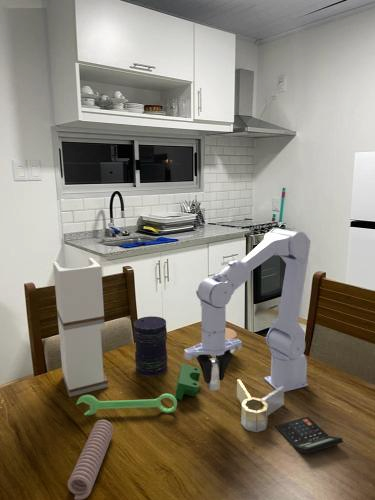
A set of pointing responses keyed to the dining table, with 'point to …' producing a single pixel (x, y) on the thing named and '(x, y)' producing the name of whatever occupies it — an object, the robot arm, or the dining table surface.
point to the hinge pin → (214, 375)
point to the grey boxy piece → (80, 326)
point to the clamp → (187, 381)
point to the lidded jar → (228, 338)
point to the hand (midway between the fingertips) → (213, 380)
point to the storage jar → (150, 346)
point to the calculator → (306, 435)
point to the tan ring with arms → (258, 407)
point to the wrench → (125, 403)
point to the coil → (90, 460)
